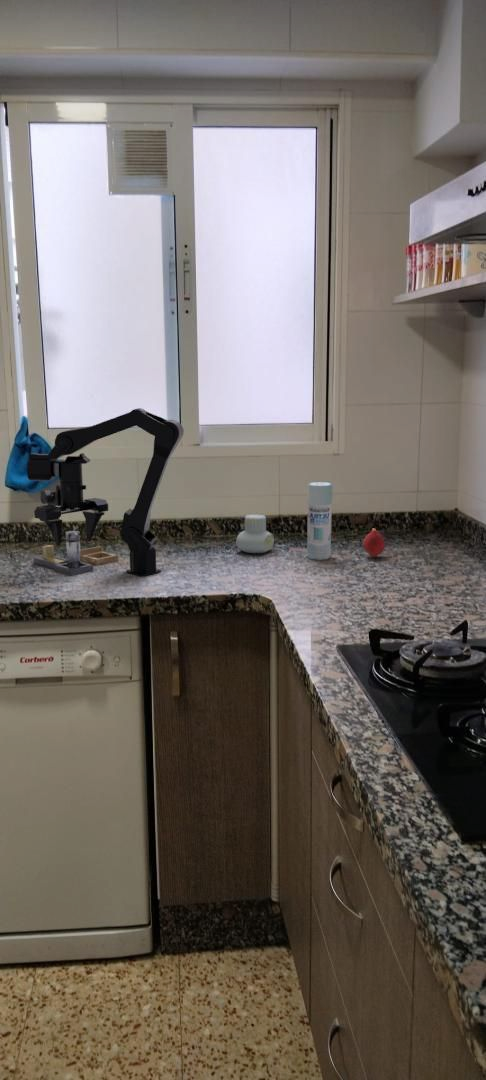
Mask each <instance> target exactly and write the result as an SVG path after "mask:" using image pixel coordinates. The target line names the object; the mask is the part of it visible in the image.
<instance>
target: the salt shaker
mask: <svg viewBox="0 0 486 1080" xmlns="http://www.w3.org/2000/svg"><path fill="white" fill-rule="evenodd" d="M65 543H66V545H65V546H66V559H67V567H69V568H76V567H80V566H81V562H82V561H81V554H80V550H81V532H80V531H78V530H68V531H66V532H65Z"/></svg>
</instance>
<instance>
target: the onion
mask: <svg viewBox="0 0 486 1080" xmlns="http://www.w3.org/2000/svg"><path fill="white" fill-rule="evenodd" d="M362 543H363V544H362V545H363V546H362V547H363V549H364V551H365V552H366V553H367V554H368V555H369V556H370V557H371V558H376V557H378V556H379V555H380V554H381V553H384V551H385V548H386V541H385V538H384V536H383V535H382V534H381V533H380V532H378V531H377V530H376V528H371V532H369V533H368V534H367V535H366V536H365V537H364V540H363V542H362Z"/></svg>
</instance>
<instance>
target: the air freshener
mask: <svg viewBox="0 0 486 1080" xmlns="http://www.w3.org/2000/svg"><path fill="white" fill-rule="evenodd" d="M235 540H236V541H235V544H236V546H237V549H240V550H241V551H243V552H244V553H248V554H256V553H257V554H266V553H267V552H268V551H270V550H271V549H272V548H273V546H274V543H275V538H274V535H273V534H272V532H269V531H268V530H267V517H266V516H265V515H263V514H247V515H246V516H244V530H242V531H241V532H239V534H238V535H237V537H236V539H235Z"/></svg>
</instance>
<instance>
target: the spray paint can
mask: <svg viewBox="0 0 486 1080" xmlns="http://www.w3.org/2000/svg"><path fill="white" fill-rule="evenodd" d="M332 505H333V483H330V482H325V481H324V482H323V481H320V482H319V481H317V482H315V481H314V482H309V483H308V484H307V538H306V539H307V540H306V541H307V545H306V550H307V551H306V555H307V556H306V557H307V558H308V559H310V560H319V561H321V560H328V559H330V557H331V547H332V545H331V542H332V541H331V540H332V510H333V509H332V508H333V507H332Z"/></svg>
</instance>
